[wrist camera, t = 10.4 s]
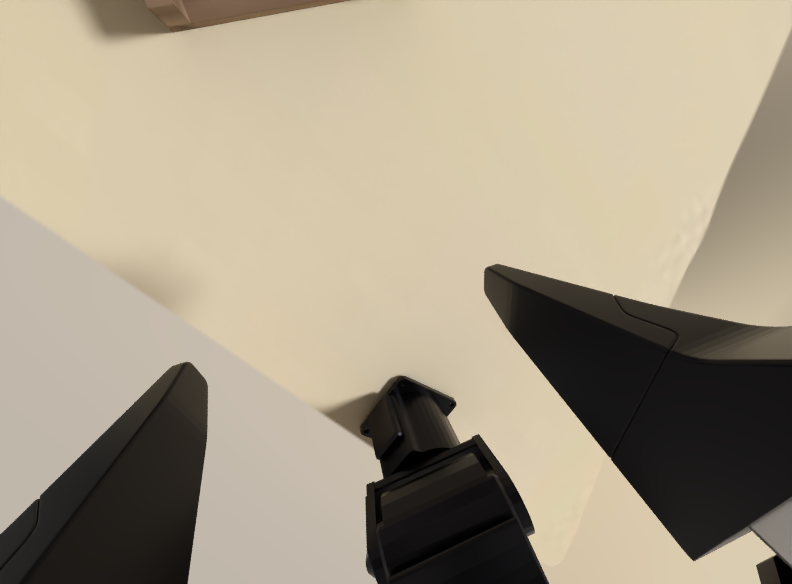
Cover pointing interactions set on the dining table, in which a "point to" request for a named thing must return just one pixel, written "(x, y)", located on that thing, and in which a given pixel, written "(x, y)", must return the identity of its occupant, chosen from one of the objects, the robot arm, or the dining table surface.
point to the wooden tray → (220, 10)
